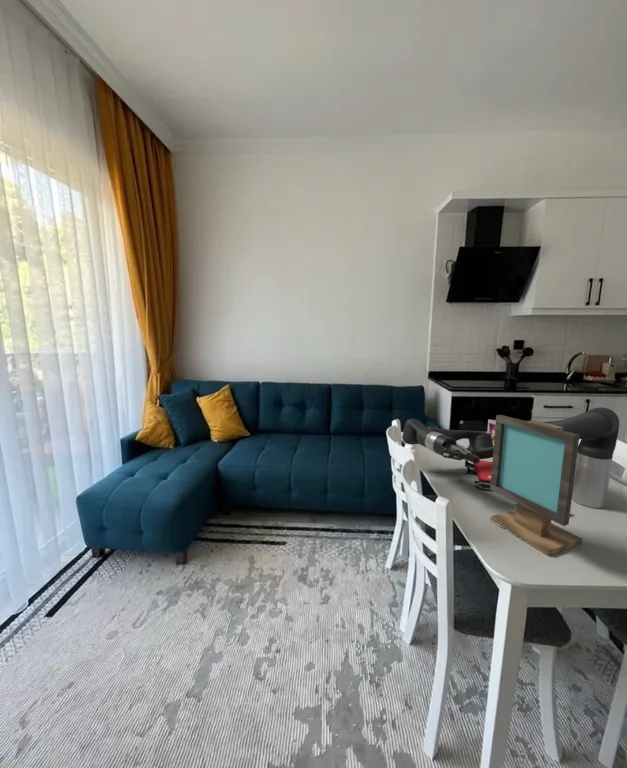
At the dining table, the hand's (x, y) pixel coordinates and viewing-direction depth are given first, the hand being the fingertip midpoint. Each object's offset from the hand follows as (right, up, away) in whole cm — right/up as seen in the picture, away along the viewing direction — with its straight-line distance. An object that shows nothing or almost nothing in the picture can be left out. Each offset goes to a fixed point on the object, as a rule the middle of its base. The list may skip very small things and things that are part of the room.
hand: (477, 460), depth 112 cm
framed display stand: (+10, -19, -11) cm, 24 cm away
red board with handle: (+17, -13, +28) cm, 36 cm away
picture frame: (+7, -10, -14) cm, 18 cm away
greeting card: (+38, -8, +57) cm, 69 cm away
